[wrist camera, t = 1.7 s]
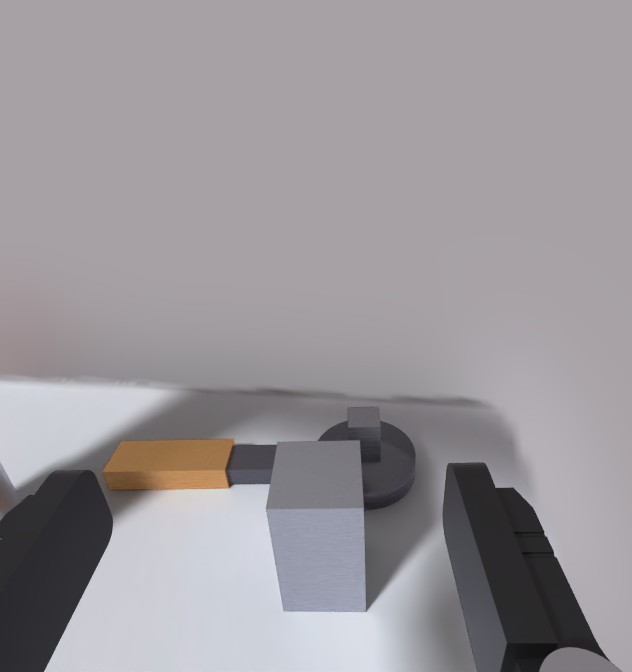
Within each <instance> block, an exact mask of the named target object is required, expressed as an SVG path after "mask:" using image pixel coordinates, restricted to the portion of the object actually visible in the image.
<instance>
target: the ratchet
mask: <svg viewBox="0 0 632 672" xmlns="http://www.w3.org/2000/svg"><path fill="white" fill-rule="evenodd" d="M353 440H360V453H361V469H362V485H363V502H364V509H376V508H382V507H385V506H388V505H391V504H393V503H395V502H396V501H398V500H400V499H401V498H402V497H403V496H404V495H405V494H406V493H407V492H408V491H409V489H410V488H411V486H412V484H413V480H414V469H415V450H414V446H413V444H412V442H411V441H410V439H409V438H408V437H407V436H406V434H405V433H403V432H402V431H401V430H399V429H398V428H396V427H394V426H393V425H390V424H388V423H385V422H382V421H380V417H379V409H378V407H349V408H348V421H346V422H343V423H340V424H337V425H335V426H333V427H332V428H330V429H329V430H327V431H326V432H325V433H324V434H323V435H322V436H321V437H320V439H319V440H318V441H353ZM276 448H277V445H238V446H235V441H234V439H200V440H153V441H121V442H120V444H119V446H118V447H117V449H116V450H115V452H114V454H113V455H112V457H111V459H110V460H109V462H108V463H107V465H106V467H105V468H104V470H103V472H102V473H103V475H104V478H105V480H106V483H107V485H108V488H109V490H132V489H207V488H229V486H230V484H270V483H271V477H272V471H273V466H274V460H275V454H276Z"/></svg>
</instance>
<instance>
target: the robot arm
mask: <svg viewBox="0 0 632 672" xmlns="http://www.w3.org/2000/svg"><path fill="white" fill-rule="evenodd" d="M443 527H444V535H445V540H446V544H447V549H448V553H449V557H450V561H451V565H452V569H453V573H454V577H455V581H456V586H457V590H458V594H459V598H460V602H461V606H462V610H463V614H464V618H465V623H466V627H467V631H468V635H469V639H470V643H471V647H472V651H473V655H474V660H475V664H476V668H477V672H622V671H621V670H620V669H618V668H617V667H616V666H615V665H614V664H613V663H611V662H610V661H609V659H608V658H607V657H606V656H605V654H604V653H603V651H602V650H601V649H600V647H599V645H598V643H597V642H596V640H595V638H594V636H593V634H592V632H591V629H590V627H589V625H588V623H587V621H586V619H585V617H584V615H583V613H582V610H581V608H580V606H579V604H578V602H577V600H576V598H575V596H574V594H573V591H572V589H571V587H570V585H569V583H568V581H567V579H566V577H565V574H564V572H563V570H562V568H561V566H560V564H559V562H558V560H557V558H556V557H555V556H554V551H553V549H552V547H551V545H550V543H549V541H548V538H547V537H545V535H544V530H543V528H542V526H541V524H540V522H539V519H538V517H537V515H536V513H535V511H534V509H533V507H532V506H531V505H530V504H529V503H528V502H527V501H526V500H525V499H524V498H523V497H522V496H521V495H520V494H519V493H518V492H517V491H516V490H515V489H514V488H496V487H495V485H494V483H493V480H492V478H491V475H490V473H489V470H488V468H487V466H486V464H485V463H449V464H448V465H447V471H446V482H445V492H444V503H443ZM112 528H113V519H112V515H111V512H110V509H109V507H108V505H107V502H106V500H105V497H104V495H103V493H102V490H101V488H100V485H99V483H98V480H97V478H96V476H95V474H94V473H93V472H92V471H90V470H71V471H55V472H53V473H52V474H50V475H49V476H48V478H47V479H46V480H45V482H44V483H43V484H42V486H41V487H40V488H39V490H38V491H37V492H36V494H35V495H29V496H28V497H26V498H25V499H24V500H23V501H21V500H20V498H19V496H18V494H17V492H16V490H15V488H14V486H13V484H12V483H11V481H10V479H9V477H8V475H7V474H6V472H5V470H4V468H3V466H2V464H1V463H0V672H44V670H45V668H46V666H47V664H48V662H49V661H50V659H51V657H52V655H53V653H54V651H55V649H56V647H57V645H58V643H59V641H60V639H61V637H62V635H63V633H64V631H65V629H66V627H67V625H68V623H69V621H70V619H71V617H72V615H73V613H74V611H75V609H76V607H77V605H78V603H79V601H80V599H81V597H82V595H83V593H84V591H85V589H86V587H87V585H88V583H89V581H90V579H91V577H92V575H93V573H94V571H95V569H96V567H97V565H98V563H99V561H100V559H101V558H102V556H103V554H104V552H105V550H106V548H107V546H108V543H109V541H110V538H111V534H112Z"/></svg>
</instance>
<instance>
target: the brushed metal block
mask: <svg viewBox="0 0 632 672" xmlns="http://www.w3.org/2000/svg"><path fill="white" fill-rule="evenodd" d="M266 512H267V518H268V524H269V529H270V535H271V541H272V547H273V553H274V558H275V564H276V570H277V576H278V581H279V587H280V593H281V599H282V605H283V610H284V611H335V612H366V584H365V537H364V502H363V485H362V469H361V453H360V440H353V441H304V442H277V448H276V454H275V460H274V466H273V471H272V477H271V483H270V489H269V495H268V500H267V506H266Z"/></svg>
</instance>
